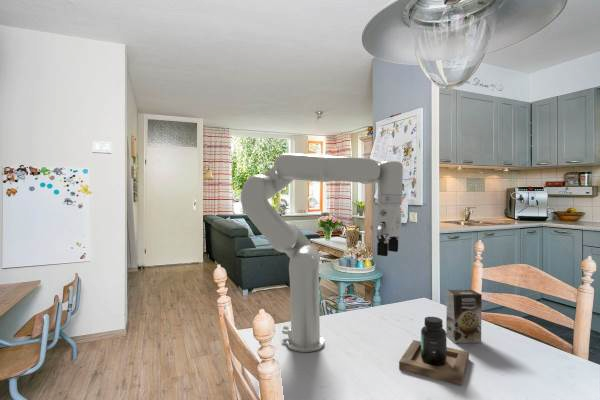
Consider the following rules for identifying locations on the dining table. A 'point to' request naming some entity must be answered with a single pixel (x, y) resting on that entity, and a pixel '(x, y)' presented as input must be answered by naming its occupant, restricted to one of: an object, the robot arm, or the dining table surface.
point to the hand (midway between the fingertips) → (387, 253)
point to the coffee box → (463, 316)
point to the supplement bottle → (433, 342)
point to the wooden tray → (447, 372)
